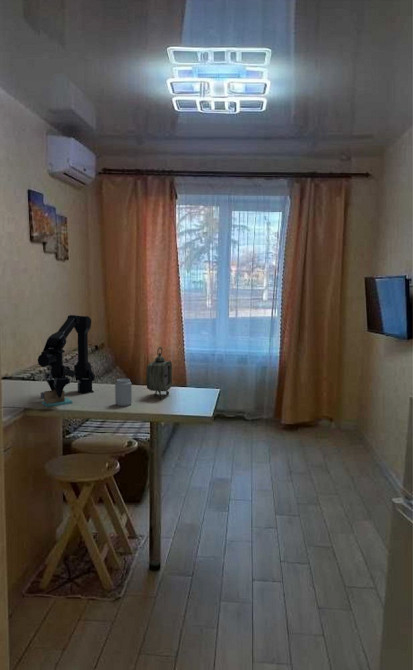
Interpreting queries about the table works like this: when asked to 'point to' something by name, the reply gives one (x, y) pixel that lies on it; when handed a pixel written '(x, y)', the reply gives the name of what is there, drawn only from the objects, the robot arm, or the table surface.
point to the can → (123, 392)
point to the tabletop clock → (159, 375)
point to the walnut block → (53, 397)
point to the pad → (67, 401)
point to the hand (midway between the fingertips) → (57, 396)
